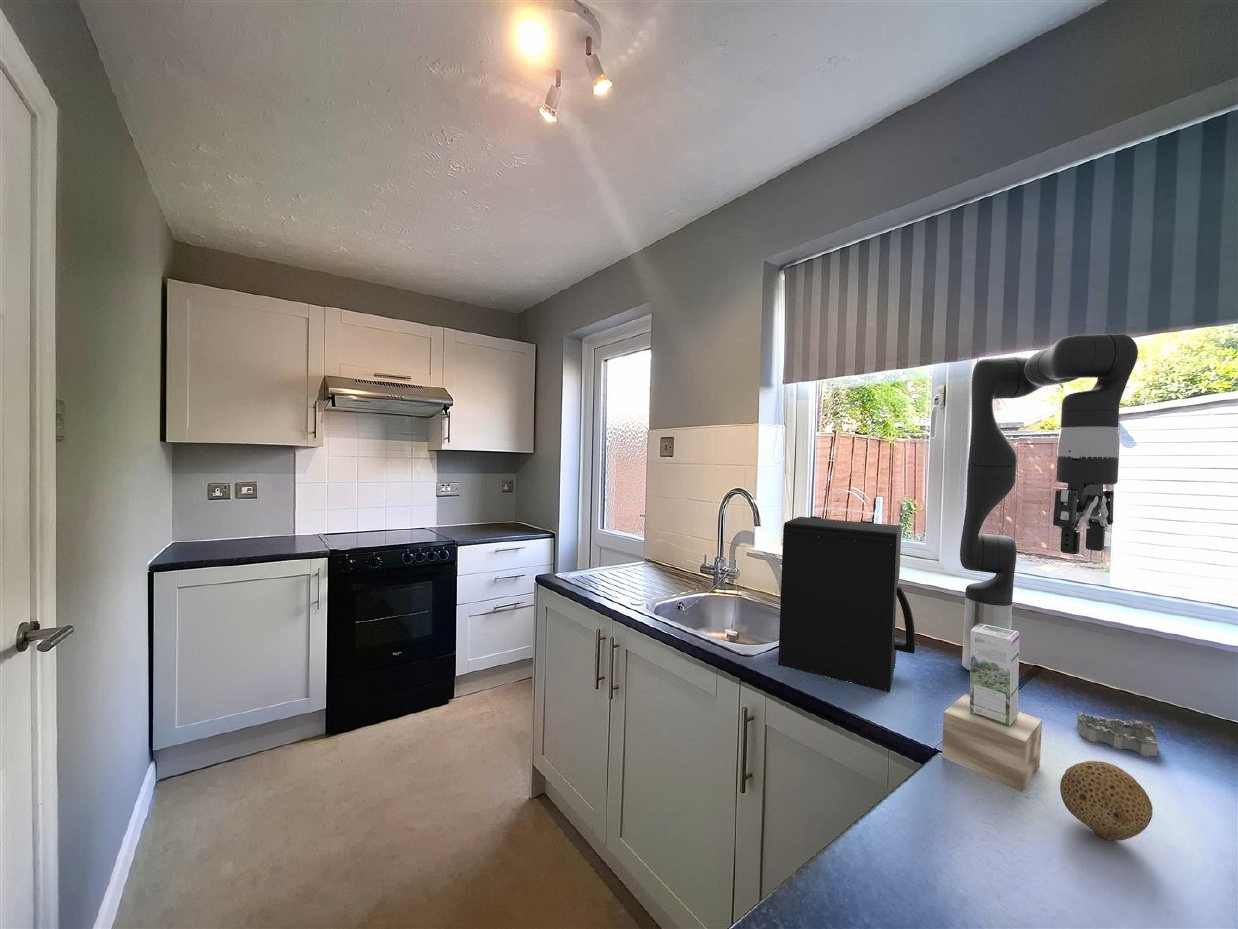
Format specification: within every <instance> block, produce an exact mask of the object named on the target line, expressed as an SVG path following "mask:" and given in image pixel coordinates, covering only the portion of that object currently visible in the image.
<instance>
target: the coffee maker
mask: <svg viewBox="0 0 1238 929" xmlns="http://www.w3.org/2000/svg"><path fill="white" fill-rule="evenodd" d="M782 530H783V531H782V553H781V557H782V558H781V577H780V578H781V581H780V583H781V584H780V603H779V605H780V608H779V610H780V611H779V631H778V632H779V634H778V660H777V661H778V662H777V665H778V666H782V667H786V668H790V669H793V670H797V671H801V672H805V673H808V674H809V673H810V674H814V675H817V676H821V675H822V677H825V676H827V677H826V678H829V677H830V679H833V678H834V679H833V680H837V679H838V681H841V682H845V681H848V682H847V683H849V682H852V683H851V684H853V683H854V684H853V685H857V684H858V686H862V687H866V688H869V687H870V688H869V689H873V688H874V690H877V689H878V691H881V690H882V691H881V692H885V691H886V693H889V694H890V693H891V689H892V684H893V683H892V682H893V679H894V675H895V674H894V673H895V670H896V665H895V664H896V663H897V662H896V661H897V651H898V652H904V653H907V654H912V655H913V654H915V653H916V630H915V629H916V628H915V623H914V616H913V612H912V609H911V608H912V607H911V606H910V603H909V600H908V599H907V596H906V593H905V592H904V590H903V588H902V587H901V586H898V583H899V581H900V580H899V579H900V572H901V571H900V570H901V549H902V547H901V546H902V525H897V524H896V525H895V524H888V523H887V524H885V523H876V522H875V523H874V522H873V521H870V520H860V521H852V520H841V519H832V518H822V517H821V516H812V515H811V516H798V517H795V518H793V519H790V520H788V521H785V522H784V523H783V529H782ZM897 599H898V602H899V603H900V607H901V610H902V615H903V619H904V620H903V621H904V626H905V627H904V628H905V629H904V630H905V642H900V641H896V640H895V636H896V615H897V614H896V612H897ZM894 669H895V670H894Z"/></svg>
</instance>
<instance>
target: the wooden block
mask: <svg viewBox="0 0 1238 929" xmlns="http://www.w3.org/2000/svg"><path fill="white" fill-rule="evenodd" d="M942 722H943V723H942V724H943V725H942V727H943V728H942V743H941V744H942V749H941V757H942V758H943V759H946V760H948V761H951V762H953V763H955V764H958V765H960V766H963V767H965V768H967V769H969V770H972V771H974V772H975V773H979V774H981V775H983V776H985V777H987V778H990V779H992V780H995V781H997V782H999V783H1001V784H1004V785H1006V786H1008V787H1011V788H1013V789H1016V790H1017V791H1020V792H1022V793H1023V792H1024V791H1025V789H1026V787H1027V786H1028V785H1029V783H1030V781H1031V780H1032V779H1033V776H1034V775H1035V773H1036V772H1037V770H1038V769H1039V767H1040V766H1041V751H1042V750H1041V748H1042V730H1043V728H1042V727H1043V726H1042V725H1043V719H1042V718H1039V717H1036V716H1033V715H1030V714H1027V713H1024V712H1021V711H1019V714H1018V716H1017V717H1016V719H1015V720H1014V721H1013V723H1012V724H1011V725H1010V726H1009V725H1005V724H1002V723H999V722H996V721H993V720H990V719H987V718H985V717H982V716H979V715H976V714H973V713H970V694H966V693H965V694H963V695H962V696H960V697H959V698H958V699H957V700H956V701H955V702H954V703H952V704H951V705H950V706H949V707H948V708H947V709H946V710H944V711H943V721H942Z"/></svg>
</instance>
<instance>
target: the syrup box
mask: <svg viewBox="0 0 1238 929" xmlns="http://www.w3.org/2000/svg"><path fill="white" fill-rule="evenodd" d="M1019 666H1020V632H1019V631H1018V630H1013V629H1011V630H1009V629H1004V628H999V627H995V626H990V625H985V624H981V623H980V624H978V625H976V626H975V627H973V628H972V629H971V630H970V671H969V695H970V713H973V714H976V715H979V716H982V717H985V718H987V719H990V720H993V721H996V722H999V723H1002V724H1005V725H1009V726H1010V725H1011V724H1012V723H1013V721H1014V720H1015V719H1016V717H1017V716H1018V714H1019V712H1020V711H1019V707H1020V706H1019V670H1020V669H1019Z"/></svg>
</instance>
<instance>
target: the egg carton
mask: <svg viewBox="0 0 1238 929" xmlns="http://www.w3.org/2000/svg"><path fill="white" fill-rule="evenodd" d="M1076 718H1077V719H1076V720H1077V721H1076V723H1077V724H1076V727H1077V729H1078V735H1079V736H1082V737H1084V738H1085V739H1086V740H1088V741H1090V742H1094V743H1095V742H1096V743H1097V742H1103V743H1106V744H1109V745H1110V746H1112V747H1113V748H1115V749H1119V750H1122V749H1128V750H1132V751H1134V752H1137V753H1138V754H1139V755H1140V756H1143V757H1148V758H1149V757H1152V756H1153V757H1158V747H1159V746H1160V744H1159V742H1158V738H1157V737H1156V734H1155V731H1154V727H1153V725H1152V723H1151V722H1145V721H1144V720H1137V719H1130V718H1128V719H1127V720H1126V721H1125V720H1121V719H1119V718H1115V719H1113V718H1106V717H1105V716H1099V715H1090V714H1085V712H1080V711H1076Z"/></svg>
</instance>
